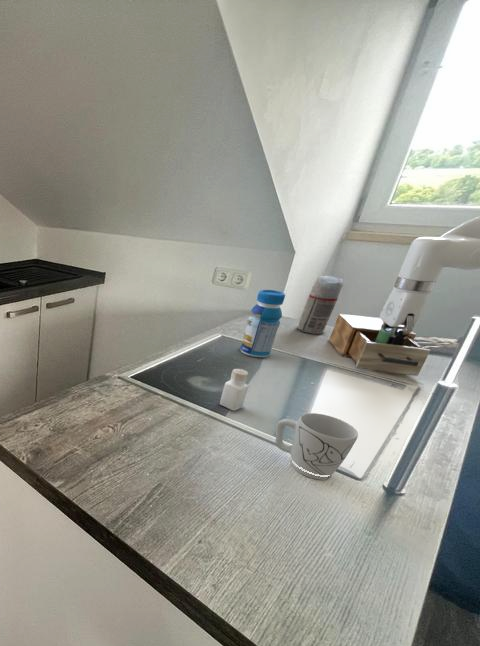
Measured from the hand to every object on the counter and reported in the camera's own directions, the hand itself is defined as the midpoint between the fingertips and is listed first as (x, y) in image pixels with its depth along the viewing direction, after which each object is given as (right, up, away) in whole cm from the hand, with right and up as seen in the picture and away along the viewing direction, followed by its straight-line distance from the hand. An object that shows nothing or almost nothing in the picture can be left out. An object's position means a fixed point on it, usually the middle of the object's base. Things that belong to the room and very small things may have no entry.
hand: (387, 345), depth 112 cm
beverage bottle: (-31, -2, +12) cm, 33 cm away
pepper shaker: (-56, -16, -17) cm, 60 cm away
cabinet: (+5, -1, +13) cm, 14 cm away
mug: (-54, -25, -37) cm, 70 cm away
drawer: (-1, -6, +1) cm, 6 cm away
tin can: (0, -1, +1) cm, 1 cm away
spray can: (+2, +6, +30) cm, 31 cm away
